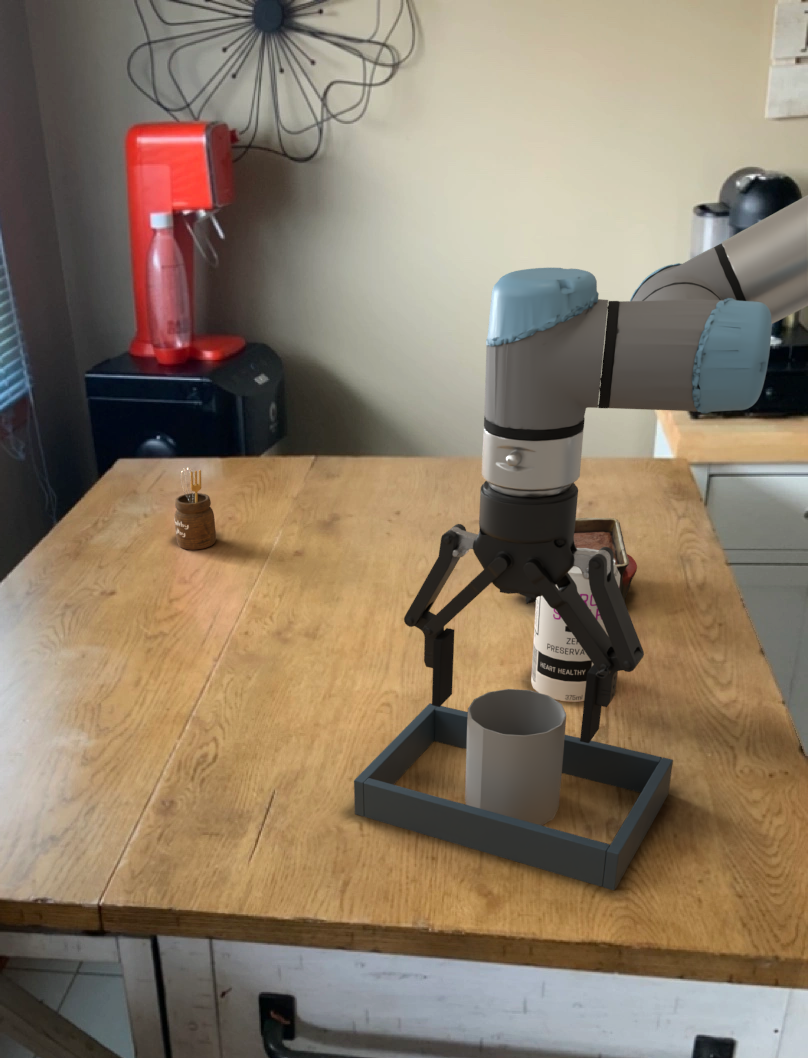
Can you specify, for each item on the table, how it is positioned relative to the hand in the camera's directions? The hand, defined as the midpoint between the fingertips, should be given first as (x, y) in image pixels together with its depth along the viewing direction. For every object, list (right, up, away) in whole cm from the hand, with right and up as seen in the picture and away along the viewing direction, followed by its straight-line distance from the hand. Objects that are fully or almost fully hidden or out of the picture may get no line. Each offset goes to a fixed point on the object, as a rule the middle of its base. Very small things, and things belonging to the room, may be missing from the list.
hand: (513, 717), depth 99 cm
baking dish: (+18, +16, +46) cm, 52 cm away
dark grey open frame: (+1, -9, +5) cm, 10 cm away
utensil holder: (-32, +26, +70) cm, 81 cm away
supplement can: (+11, +3, +24) cm, 27 cm away
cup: (+1, -8, +5) cm, 10 cm away
